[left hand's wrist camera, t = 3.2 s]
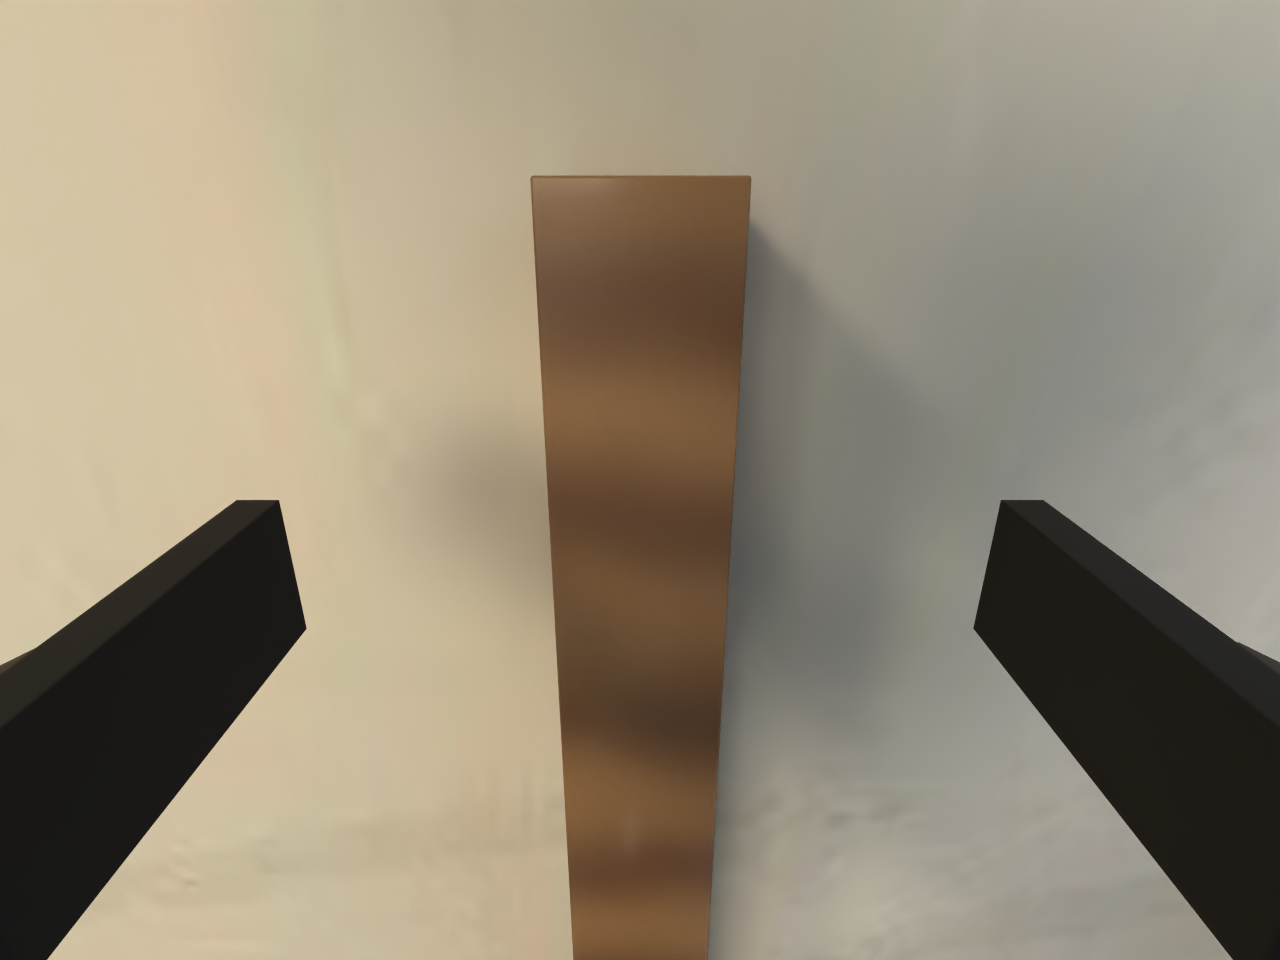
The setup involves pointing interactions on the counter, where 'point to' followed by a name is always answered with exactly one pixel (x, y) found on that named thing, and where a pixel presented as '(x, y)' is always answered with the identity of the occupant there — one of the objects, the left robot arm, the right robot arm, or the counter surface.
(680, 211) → the bar
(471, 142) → the counter surface
